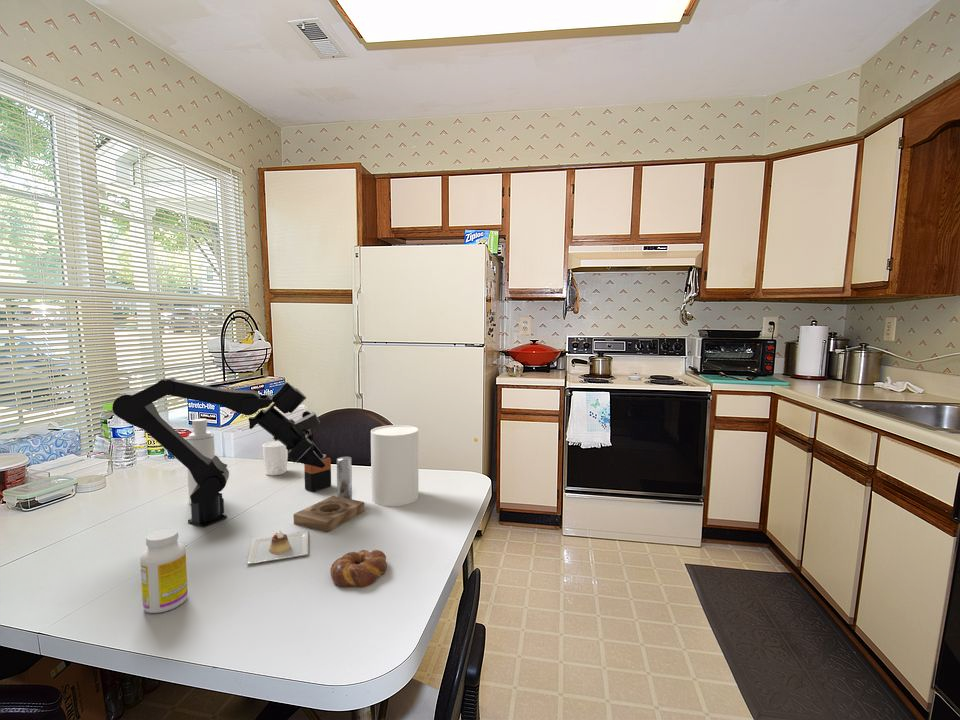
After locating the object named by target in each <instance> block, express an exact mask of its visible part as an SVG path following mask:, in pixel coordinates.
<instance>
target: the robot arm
mask: <svg viewBox="0 0 960 720" xmlns="http://www.w3.org/2000/svg"><path fill="white" fill-rule="evenodd" d="M166 396H172V397H178V398H181V399H187V400H193V401H198V402H203V403H209V404H213V405H217V406H221V407H224V408H226V409H228V410H230V411H232V412H234V413H235V412H236V413H238V414H240V415H241V414H242V415H243V416H244V415H245V416H249V417H248V423H249V425H248V426H249V429H250V430H252V429H253V428H255V426H256V425H258V426H259V427H261V428H262V429H263V430H264V431H266V432H267V433H268V434H269V435H271V436H272V437H273V440H274V441H280V442H281V443H282V444H284V445H285V446H286V449H287V450H288V459H289V461H291V462H292V463H293V464H295V463H297V464H302V465H304V464H307V465H311V466H316V467H320V468H324V467H325V464H324V462H323V461H322V460H321V459H322V458H323V453H322V452H321V450H320V449H319V448H318V446H317V445H316V444H315V443H314V441H313V435H312V432H311V429H313V428H315V427H318V426H320V425H321V421H320V420H319V417H318V416H317V414H316V412H315V411H312V412H310V411H309V410H305V411H303V412H301V417H300V418H299V419H297V420H296V421H295V420H294V419H292V418H287V417H286V416H285V415H286V414H288V413H290V414H292V413H293V412H294V411H295V410H296V409H298V407H299V406H300V405H301V404H302V403H304V401H305V400H306V399H307V396H306V395H304V393H303V392H301V390H300V389H298V388H297V387H294V385H292V384H290V383H289V382H287V381H286V382H285V383H283V385H282V386H281V388H279V390H277V391H276V392H275V394H273V395H272V394H271V395H269V394H268V395H267V394H260V393H259V392H258V391H255V390H250V389H249V390H248V389H224V388H218V387H215V386H208V385H205V384H201V383H200V384H199V383H194V382H190V381H184V380H180V379H176V378H174V377H165V378H162V379H160V380H159V381H158V382H156V383H155V384H152V385H151V386H148V387H146V388H144V389H143V390H140V391H138V390H137V391H130V392H127V393H124V394H121V395H120V396H118V397H117V398H115V400H114V401H113V403H112V408H111V411H112V412H113V414H114V415H115V416H116V417H117V418H119V419H121V420H123V422H126V423H127V424H129V425H132V426H134V427H137V428H138V429H141V430H143V431H145V432H146V433H147V434H148V435H149V436H150V437H151V438H153V439H154V440H155V441H156V442H157V443H158V444H159V445H160V446H162V447H163V448H164V450H166V451H167V452H168V453H170V454H171V455H172V456H173V457H175V459H177V460H178V461H179V462H180V463H181V464H182V465H183V466H184V467H186V468H187V470H188V469H189V471H190V472H191V474H192V476H193V478H194V480H195V482H196V483H197V485H196V487H195V489H194V490H193V492H192V494H191V496H190V498H191V504H190V507H191V508H190V510H191V511H190V512H191V513H190V514H191V518H189V519H188V520H187V523H188V524H193V525H195V526H198V527H208V526H209V525H211V524H214V523H216V522H219V521H221V520H224V519H227V518H228V516H227V515H226V514H225V499H224V497H223V493H221V492H222V491H223V490H224V489H225V487H226V485H227V483H228V480H229V477H230V471H229V469H228V468H227V467H228V464H226V463H224V461H223V462H222V460H220V457H218V456H217V455H216V454H215V456H214V457H213V459H210V458H208V457H205V456H203V455H202V454H201V453H200V452H199V451H198V450H197V449H195V448H194V447H193V446H192V445H191V444H190V443H189V442H188V441H187V440H186V438H185V437H183V435H181V434H180V433H179V432H178V431H177V430H175V428H173V427H172V426H171V425H170V424H169V423H168V422H167V421H165V419H163V417H161V415H160V413H159V411H158V409H157V407H156V405H155V404H154V403H155V402H156V401H158V400H160V399H162V398H164V397H166ZM275 407H276V408H277V409H278V410H277V409H276V408H275ZM265 409H266V410H265ZM259 410H260V411H259ZM258 411H259V412H258ZM257 412H258V413H257ZM281 412H282V413H283V414H282V413H281ZM256 413H257V414H256ZM254 414H255V416H253V415H254ZM284 414H285V415H284ZM251 416H252V417H251Z"/></svg>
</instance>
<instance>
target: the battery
mask: <svg viewBox="0 0 960 720" xmlns="http://www.w3.org/2000/svg"><path fill="white" fill-rule="evenodd" d="M322 454H323V453H322ZM321 460H322V461H323V462H324V464H325V467H324V468H320V467H316V466H311V465H307V464H303V467H304V489H305V490H307V491H309V492H311V493H315V492H317V491H321V490H323V489H327V488H330V487H331V486H332V464H331V463H332V459H331V458H330V457H328V456H327V454H323V458H322V459H321Z"/></svg>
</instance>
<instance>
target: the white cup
mask: <svg viewBox="0 0 960 720" xmlns="http://www.w3.org/2000/svg"><path fill="white" fill-rule="evenodd" d="M261 445H262V455H263V456H262V457H263V463H264V464H263V465H264V473H265V475H267V476H279V475H283V474H286V473H287V471H288V459H289V454H288V453H289V451H288V450H287V449H286V446H285V445H284V444H282V443H281V442H280V441H278V440H277V441H276V440H274V441H273V440H272V441H267V442H265V443H263V444H261Z"/></svg>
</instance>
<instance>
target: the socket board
mask: <svg viewBox="0 0 960 720" xmlns="http://www.w3.org/2000/svg"><path fill="white" fill-rule="evenodd" d="M365 508H366V507H365V501H361V500H355V499H353V498H352V499H347V498H342V497H337V495H331V496H330V497H327V498H325V499H323V500H320V501H319V502H316V503H314V504H312V505H310V506H308V507H306V508H304V509H302V510H299V511H297V512H295V513H293V514H292V515H293V524H294V525H298V526H302V527H306V528H309V529H313V530H317V531H321V532H324V533H328V532H330V531H332V530H333V529H335V528H336V527H338V526H340V525H343V524H344V523H346V522H348V521H350V520H351V519H353V518H355V517H357V516H358V515H361V514H362V513H363V512H365V511H366V510H365Z"/></svg>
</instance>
